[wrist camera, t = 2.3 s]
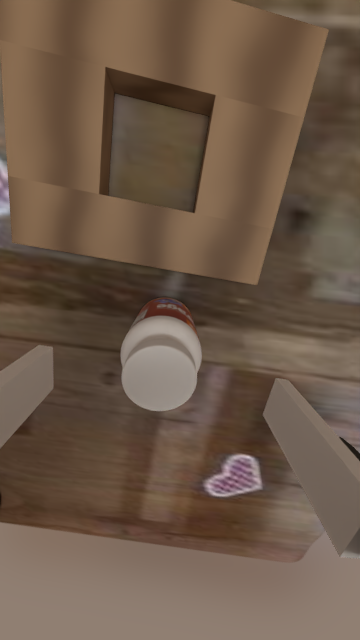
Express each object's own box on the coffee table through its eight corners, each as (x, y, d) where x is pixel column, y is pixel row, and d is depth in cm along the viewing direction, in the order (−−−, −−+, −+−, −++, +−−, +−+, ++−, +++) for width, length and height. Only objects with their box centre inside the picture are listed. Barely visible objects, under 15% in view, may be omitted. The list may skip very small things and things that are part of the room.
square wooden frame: (30, 243, 20) (12, 242, 18) (20, -20, 15) (-8, -71, 13) (247, 281, 22) (256, 285, 20) (306, 61, 17) (328, 29, 15)
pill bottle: (204, 318, 23) (231, 373, 13) (169, 358, 25) (169, 436, 14) (159, 284, 22) (148, 312, 11) (126, 327, 23) (88, 389, 13)
